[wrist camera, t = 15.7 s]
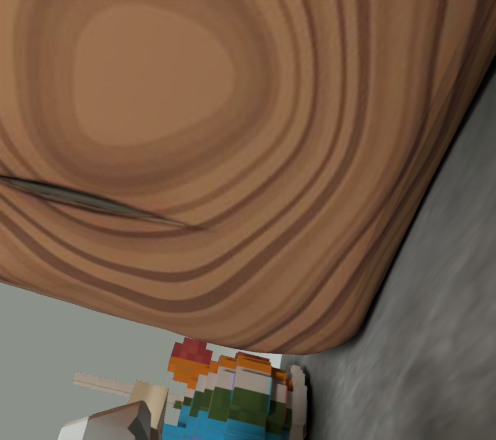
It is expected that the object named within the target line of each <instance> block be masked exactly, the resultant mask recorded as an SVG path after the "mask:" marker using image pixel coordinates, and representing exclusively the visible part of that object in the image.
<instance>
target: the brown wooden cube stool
mask: <svg viewBox="0 0 496 440" xmlns="http://www.w3.org/2000/svg"><path fill="white" fill-rule="evenodd" d="M495 54H496V0H0V282H1V283H5V284H8V285H11V286H15V287H19V288H22V289H26V290H29V291H32V292H35V293H38V294H41V295H45V296H48V297H52V298H55V299H59V300H62V301H66V302H69V303H72V304H76V305H79V306H82V307H85V308H88V309H91V310H95V311H98V312H101V313H105V314H109V315H112V316H116V317H120V318H124V319H127V320H131V321H135V322H138V323H142V324H146V325H150V326H154V327H158V328H162V329H166V330H169V331H172V332H175V333H178V334H180V335H184V336H186V337H189V338H192V339H195V340H199V341H203V342H207V343H212V344H216V345H220V346H224V347H229V348H234V349H240V350H245V351H251V352H259V353H273V354H293V355H307V354H313V353H319V352H322V351H324V350H328V349H331V348H333V347H335V346H339V345H342V344H344V343H345V342H347V341H348V340H349V339H351V338H352V337H353V336H354V335H356V334H357V332H358V331H359V329H360V327H361V324H362V322H363V320H364V318H365V316H366V314H367V312H368V310H369V307H370V305H371V303H372V300H373V298H374V296H375V294H376V292H377V291H378V289H379V287H380V285H381V283H382V281H383V279H384V277H385V274H386V272H387V270H388V268H389V266H390V264H391V262H392V260H393V258H394V256H395V254H396V252H397V249H398V247H399V245H400V243H401V241H402V239H403V237H404V235H405V233H406V230H407V228H408V226H409V224H410V222H411V220H412V218H413V216H414V214H415V212H416V209H417V207H418V205H419V203H420V201H421V199H422V197H423V195H424V193H425V191H426V189H427V187H428V185H429V183H430V181H431V179H432V177H433V175H434V173H435V171H436V169H437V167H438V165H439V163H440V161H441V159H442V157H443V155H444V153H445V151H446V149H447V147H448V145H449V143H450V142H451V140H452V138H453V136H454V134H455V132H456V130H457V128H458V126H459V124H460V122H461V120H462V118H463V116H464V114H465V113H466V111H467V109H468V107H469V105H470V103H471V101H472V99H473V97H474V95H475V93H476V91H477V89H478V87H479V85H480V83H481V81H482V79H483V77H484V75H485V73H486V71H487V69H488V68H489V66H490V64H491V62H492V60H493V58H494V56H495Z"/></svg>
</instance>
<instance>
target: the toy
mask: <svg viewBox="0 0 496 440" xmlns="http://www.w3.org/2000/svg"><path fill="white" fill-rule="evenodd" d="M206 345H207V342H202V341H198V340H194V339H190V338H186V337H185V338H184V342H183V344H181V343H177V342H176V343H175V345H174V348H173V351H172V354H171V357H170V360H169V364H168V371H171V372H174V377H173V380H175V381H179V382H184V383H188V386H187V389H186V393H185V397H184V398H183V397H179V396H175V395H170V394H168V397H167V404H166V406H168V407H172V408H177V409H181V412H180V416H179V421H178V425H177V426H173V425H169V424H165V423H164V424H163V431H162V439H163V440H304V438H305V437H306V434H307V401H308V400H307V386H305V374H303V370H301V367H300V366H296V365H293V366H290V365H289V367H288V369H287V370H286V372H285V370H281V369H277V368H273V367H272V366H270V364H271V363H270V362H269V359H267V358H263V357H259V356H255V355H250V354H246V353H242V352H238V353H236V356H235V358H232V357H228V356H223V355H221V356H220V358H219V361H218V362H216V361H211V357H212V352H213V351H210V350H206ZM210 361H211V362H210ZM284 372H285V374H284ZM73 382H74V384H76V385H80V386H84V387H88V388H93V389H97V390H101V391H105V392H110V393H114V394H118V395H122V396H126V397H130V395H131V392H132V390H133V387H134V386H133V385H129V384H125V383H121V382H117V381H112V380H108V379H103V378H100V377H96V376H91V375H87V374H83V373H79V372H77V374H76V375H75V377H74V379H73Z"/></svg>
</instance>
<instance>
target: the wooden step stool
mask: <svg viewBox="0 0 496 440" xmlns="http://www.w3.org/2000/svg"><path fill="white" fill-rule="evenodd" d="M168 390H169V388H167V387H163V386H159V385H155V384H150V383H146V382H142V381H138V380H136V381H135V384H134V387H133V390H132V392H131V395H130V398H129V401H128V403H127V404H130V403H133V402H137V401H140V400H142V401H145V402H146V404H147V406H148V408H149V410H150V412H151V427H153V428H155V429H157V430H159V432H160V435H161V437H162V431H163V424H164V416H165V411H166V404H167V397H168Z"/></svg>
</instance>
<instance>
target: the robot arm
mask: <svg viewBox="0 0 496 440" xmlns="http://www.w3.org/2000/svg"><path fill="white" fill-rule="evenodd" d="M58 440H163V439H162V437H161V435H160V432H159V430H157V429H155V428H153V427H151V412H150V410H149V408H148V406H147V404H146V402H145V401H142V400H140V401H137V402H133V403H130V404H127V405H123V406H120V407H117V408H113V409H110V410H106V411H103V412H99V413H96V414H93V415H92V416H88V417H84V418H81V419H78V420H74V421H71V422H68V423H66V425H65V426H64V427H63V428H62V429H61V432H60V435H59V438H58Z"/></svg>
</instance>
